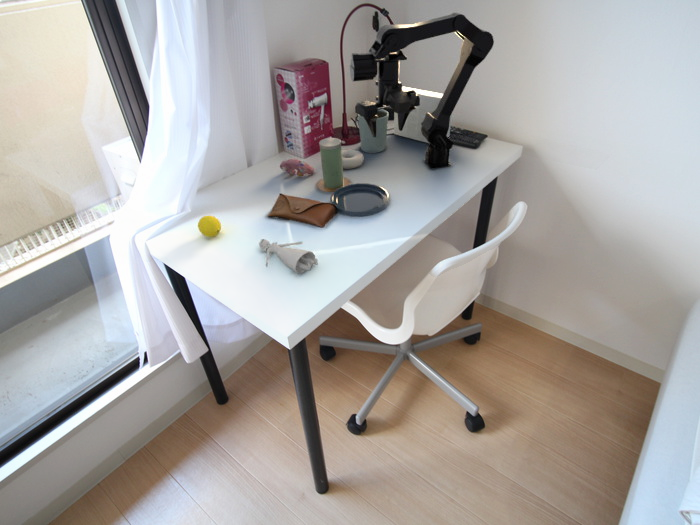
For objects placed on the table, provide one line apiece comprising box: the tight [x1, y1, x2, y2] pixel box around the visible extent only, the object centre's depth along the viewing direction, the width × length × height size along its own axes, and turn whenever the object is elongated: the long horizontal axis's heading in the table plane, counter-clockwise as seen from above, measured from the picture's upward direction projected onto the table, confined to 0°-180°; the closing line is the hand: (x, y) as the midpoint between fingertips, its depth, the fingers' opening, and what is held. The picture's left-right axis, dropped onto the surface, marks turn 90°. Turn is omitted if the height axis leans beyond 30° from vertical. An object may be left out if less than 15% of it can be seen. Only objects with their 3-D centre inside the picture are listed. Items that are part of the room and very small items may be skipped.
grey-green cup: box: [357, 109, 389, 154], centre depth 146 cm, size 10×10×12 cm
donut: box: [341, 149, 365, 170], centre depth 140 cm, size 10×4×10 cm
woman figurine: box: [258, 238, 319, 275], centre depth 100 cm, size 12×4×18 cm
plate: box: [329, 182, 390, 218], centre depth 119 cm, size 16×16×2 cm
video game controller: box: [279, 158, 315, 177], centre depth 134 cm, size 10×5×7 cm, turn 68°
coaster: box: [316, 176, 351, 193], centre depth 129 cm, size 10×10×1 cm
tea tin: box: [318, 137, 345, 188], centre depth 125 cm, size 6×6×13 cm
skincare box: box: [393, 86, 453, 144], centre depth 149 cm, size 21×6×16 cm, turn 46°
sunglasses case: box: [267, 193, 338, 229], centre depth 116 cm, size 18×7×7 cm, turn 66°
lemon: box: [197, 215, 222, 238], centre depth 109 cm, size 7×5×5 cm
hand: (387, 133), depth 128 cm, fingers open, 9 cm apart
